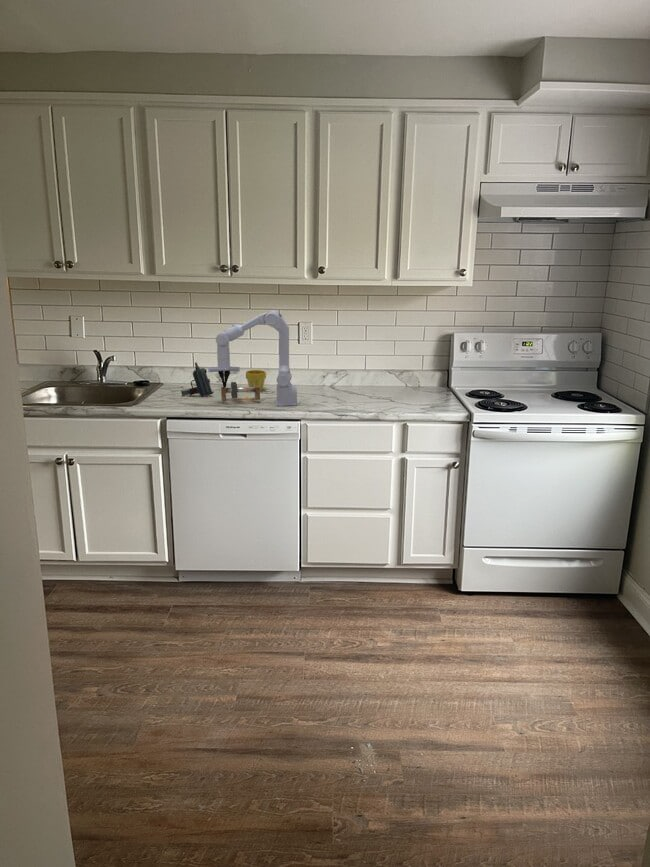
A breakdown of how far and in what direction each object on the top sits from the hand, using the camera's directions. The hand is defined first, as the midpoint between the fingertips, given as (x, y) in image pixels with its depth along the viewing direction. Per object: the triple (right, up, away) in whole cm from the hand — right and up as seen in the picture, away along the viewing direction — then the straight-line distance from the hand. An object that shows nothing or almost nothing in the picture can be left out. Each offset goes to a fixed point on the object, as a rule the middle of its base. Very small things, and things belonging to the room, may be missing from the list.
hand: (224, 386), depth 302 cm
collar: (+4, -4, +2) cm, 7 cm away
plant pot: (+12, 0, +27) cm, 30 cm away
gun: (-16, -4, +14) cm, 21 cm away
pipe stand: (+7, -7, +4) cm, 11 cm away
